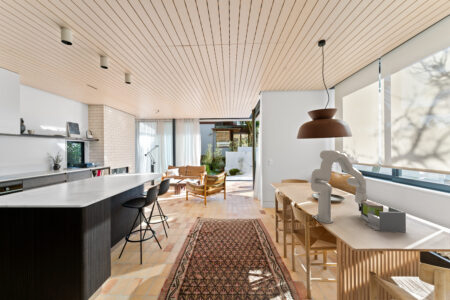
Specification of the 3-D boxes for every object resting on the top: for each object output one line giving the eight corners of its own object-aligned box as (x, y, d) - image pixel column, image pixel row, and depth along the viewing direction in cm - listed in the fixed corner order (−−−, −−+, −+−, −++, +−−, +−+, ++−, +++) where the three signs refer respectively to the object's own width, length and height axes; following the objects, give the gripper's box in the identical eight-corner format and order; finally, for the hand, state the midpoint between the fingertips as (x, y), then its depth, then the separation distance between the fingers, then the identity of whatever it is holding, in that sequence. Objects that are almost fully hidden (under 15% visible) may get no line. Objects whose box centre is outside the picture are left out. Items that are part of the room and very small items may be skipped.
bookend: (376, 230, 140) (375, 218, 140) (364, 224, 152) (364, 212, 152) (381, 230, 139) (381, 218, 139) (369, 224, 152) (369, 212, 152)
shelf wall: (380, 231, 138) (380, 212, 138) (367, 224, 152) (367, 206, 152) (405, 232, 137) (405, 212, 137) (390, 224, 151) (390, 206, 151)
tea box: (384, 224, 152) (383, 205, 152) (369, 223, 154) (369, 205, 154) (373, 217, 167) (373, 200, 167) (360, 217, 169) (360, 200, 169)
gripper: (351, 189, 181) (351, 208, 181) (362, 192, 167) (362, 213, 167) (360, 189, 181) (360, 208, 181) (371, 192, 166) (371, 213, 166)
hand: (361, 211), depth 174 cm, fingers closed
